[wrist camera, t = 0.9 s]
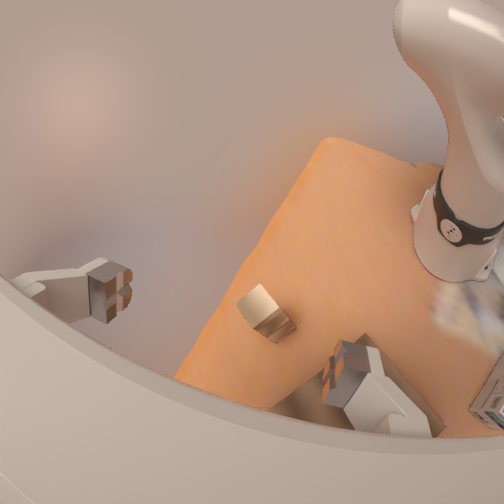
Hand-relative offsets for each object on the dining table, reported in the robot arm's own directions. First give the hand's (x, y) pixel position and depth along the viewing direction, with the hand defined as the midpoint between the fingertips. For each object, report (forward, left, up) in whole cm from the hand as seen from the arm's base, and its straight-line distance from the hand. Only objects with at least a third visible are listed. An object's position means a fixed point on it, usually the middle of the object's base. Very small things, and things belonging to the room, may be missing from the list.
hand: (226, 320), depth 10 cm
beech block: (0, -9, -34) cm, 35 cm away
